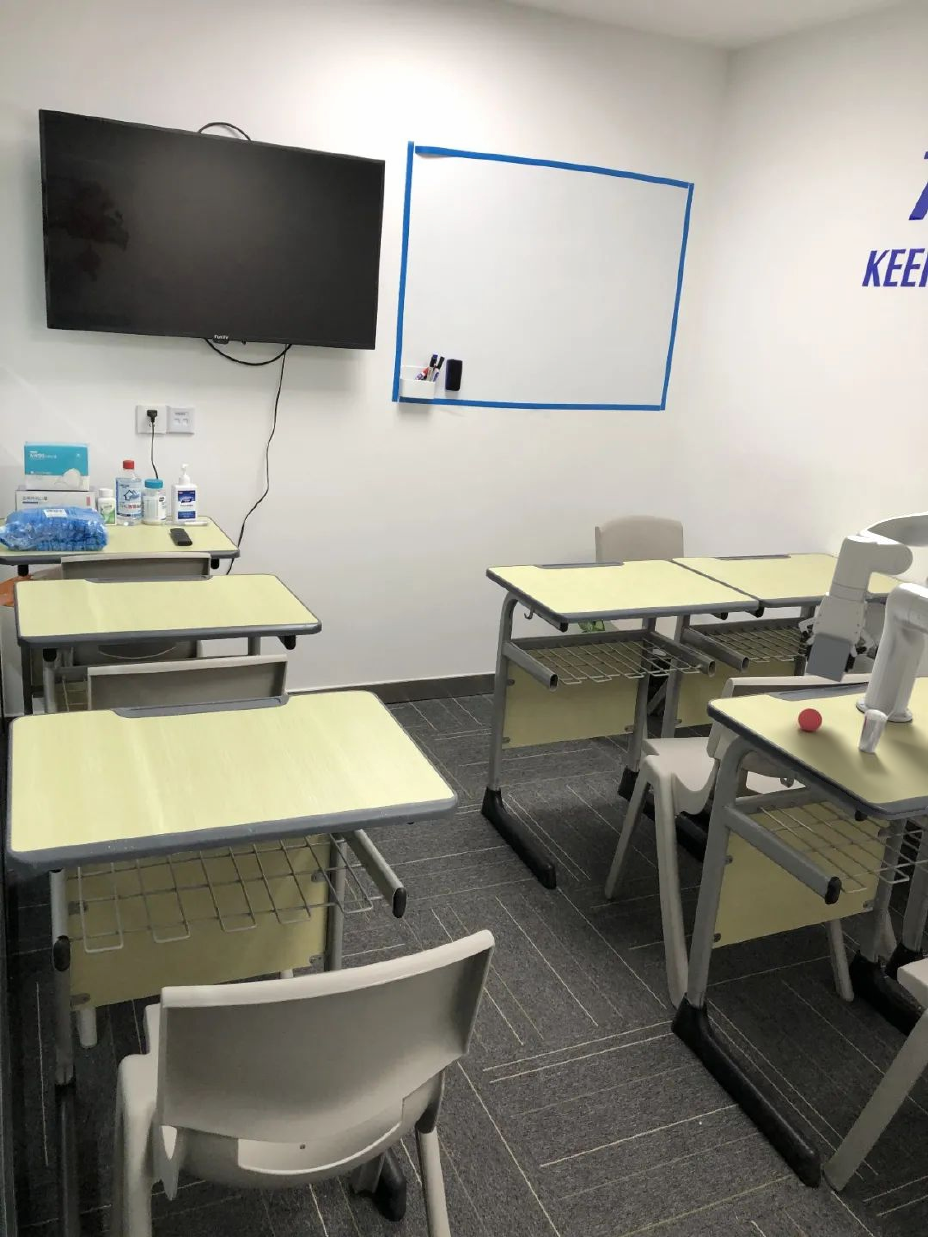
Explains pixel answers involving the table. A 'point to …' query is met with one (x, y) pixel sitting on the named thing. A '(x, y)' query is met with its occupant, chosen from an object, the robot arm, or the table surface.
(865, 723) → the milkshake
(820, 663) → the grey cube
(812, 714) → the ball
